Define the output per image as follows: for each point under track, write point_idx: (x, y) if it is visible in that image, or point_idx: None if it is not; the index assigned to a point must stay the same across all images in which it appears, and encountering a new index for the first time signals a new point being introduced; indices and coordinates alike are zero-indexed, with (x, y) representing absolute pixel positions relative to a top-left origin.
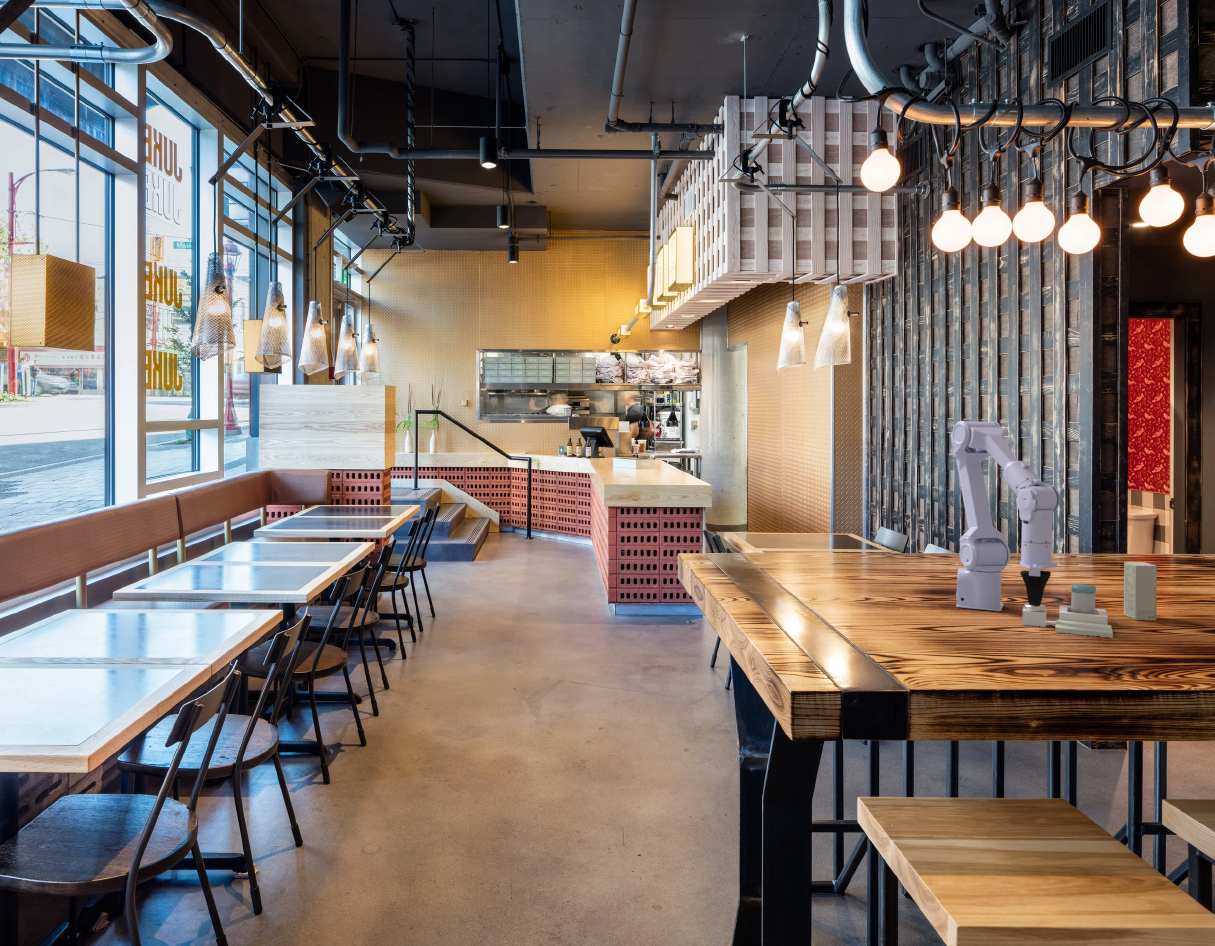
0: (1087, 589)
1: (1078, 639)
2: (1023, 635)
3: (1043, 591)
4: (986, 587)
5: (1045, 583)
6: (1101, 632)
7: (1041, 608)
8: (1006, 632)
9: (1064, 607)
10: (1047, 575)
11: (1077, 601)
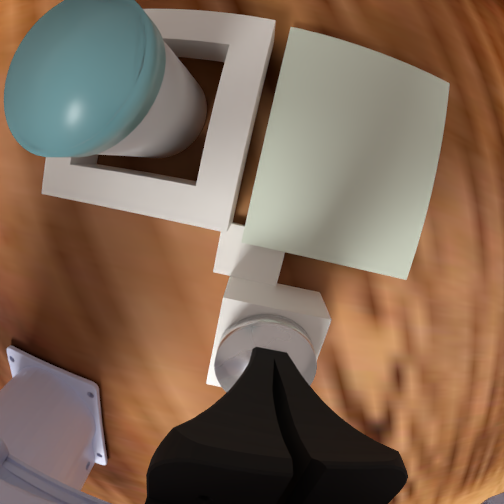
0: (155, 45)
1: (481, 218)
2: (446, 371)
3: (318, 397)
4: (64, 463)
5: (360, 435)
6: (443, 117)
7: (311, 344)
8: (414, 408)
9: (82, 179)
10: (391, 481)
11: (164, 127)
